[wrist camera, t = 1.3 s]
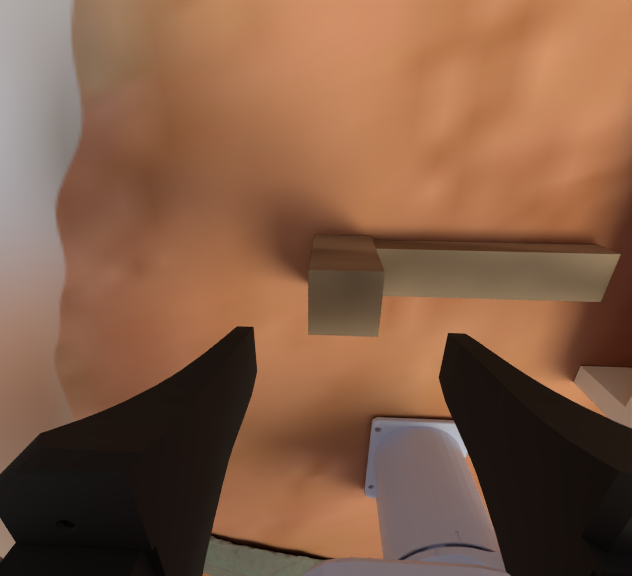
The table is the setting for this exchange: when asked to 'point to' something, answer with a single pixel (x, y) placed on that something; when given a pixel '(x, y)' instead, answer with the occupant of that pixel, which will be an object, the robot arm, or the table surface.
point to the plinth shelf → (608, 390)
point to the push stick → (442, 276)
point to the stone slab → (252, 561)
